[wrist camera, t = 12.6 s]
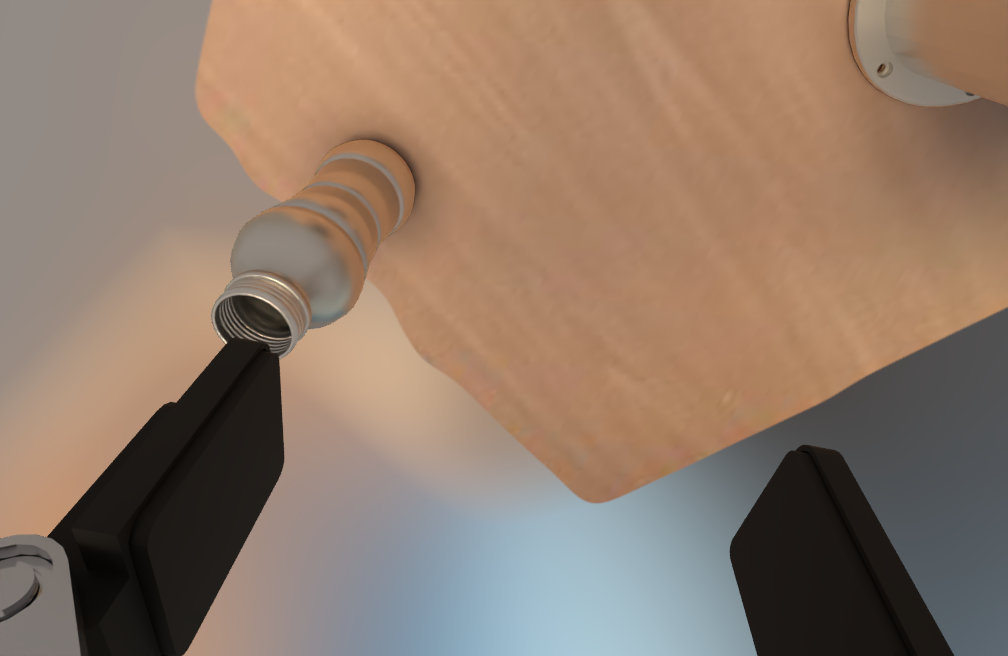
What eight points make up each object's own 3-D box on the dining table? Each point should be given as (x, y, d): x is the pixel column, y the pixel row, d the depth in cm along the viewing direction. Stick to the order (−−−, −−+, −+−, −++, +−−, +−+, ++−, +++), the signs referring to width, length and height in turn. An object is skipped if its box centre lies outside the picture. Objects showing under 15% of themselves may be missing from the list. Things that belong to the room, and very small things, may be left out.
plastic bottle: (391, 236, 44) (289, 410, 28) (314, 181, 42) (154, 332, 26) (439, 173, 41) (357, 325, 24) (358, 110, 39) (209, 228, 23)
